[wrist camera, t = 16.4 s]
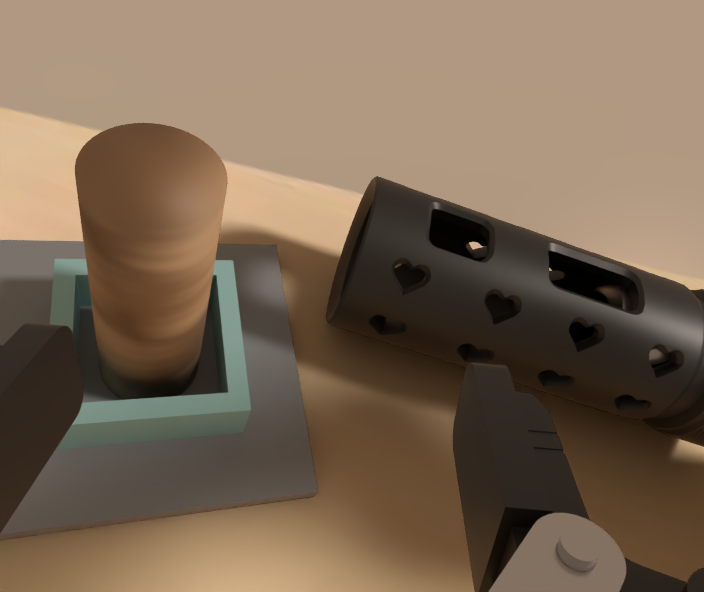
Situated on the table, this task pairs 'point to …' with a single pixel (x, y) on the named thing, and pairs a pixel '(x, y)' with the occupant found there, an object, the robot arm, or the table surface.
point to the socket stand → (166, 401)
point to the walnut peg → (149, 252)
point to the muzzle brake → (522, 308)
